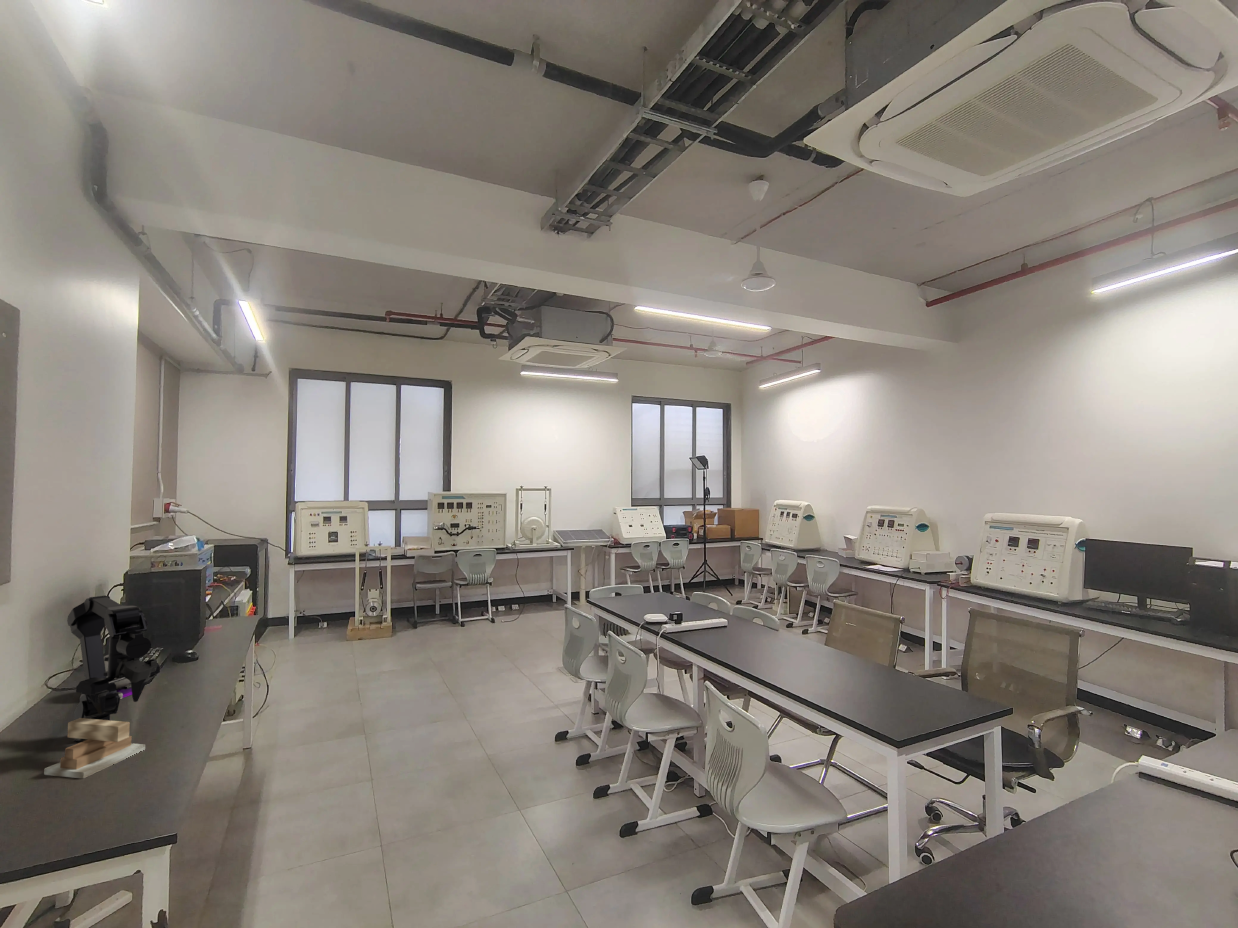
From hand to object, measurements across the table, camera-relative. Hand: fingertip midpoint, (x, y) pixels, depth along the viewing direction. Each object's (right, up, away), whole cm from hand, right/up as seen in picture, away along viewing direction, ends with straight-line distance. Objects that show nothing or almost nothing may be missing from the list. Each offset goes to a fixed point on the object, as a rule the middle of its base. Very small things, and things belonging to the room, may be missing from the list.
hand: (118, 707), depth 159 cm
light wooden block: (+1, -5, -7) cm, 9 cm away
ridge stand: (+1, -11, -7) cm, 14 cm away
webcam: (-39, -14, +41) cm, 58 cm away
